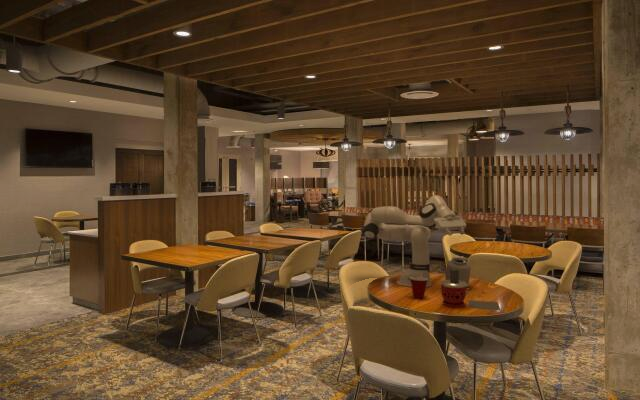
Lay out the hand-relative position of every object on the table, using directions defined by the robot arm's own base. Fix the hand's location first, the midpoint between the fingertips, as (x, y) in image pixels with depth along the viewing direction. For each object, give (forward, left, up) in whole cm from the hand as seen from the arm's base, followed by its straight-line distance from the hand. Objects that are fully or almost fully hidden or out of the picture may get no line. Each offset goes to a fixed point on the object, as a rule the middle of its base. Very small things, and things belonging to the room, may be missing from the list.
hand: (457, 234), depth 271 cm
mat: (+15, -17, -37) cm, 43 cm away
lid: (-1, -22, -25) cm, 33 cm away
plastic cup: (-21, -10, -38) cm, 44 cm away
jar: (+2, +22, -38) cm, 44 cm away
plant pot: (-2, -21, -38) cm, 43 cm away
